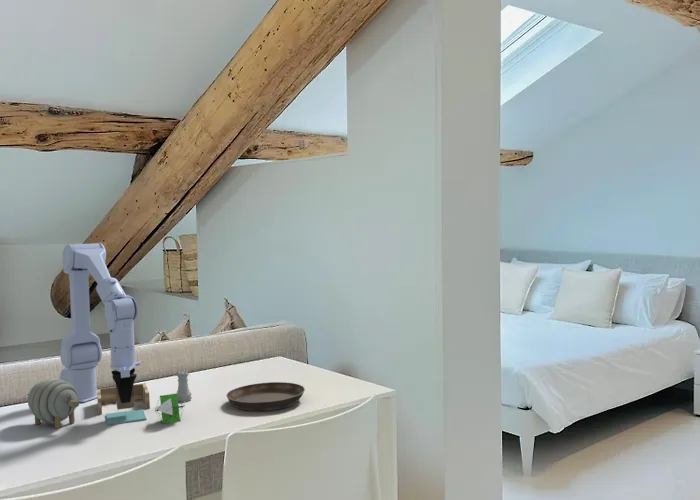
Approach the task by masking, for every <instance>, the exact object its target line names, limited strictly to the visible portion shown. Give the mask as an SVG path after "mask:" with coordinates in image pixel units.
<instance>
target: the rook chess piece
mask: <svg viewBox="0 0 700 500" xmlns="http://www.w3.org/2000/svg"><path fill="white" fill-rule="evenodd" d="M189 375H190V374H189V373H188V370H185V369H183V370H181V369H180V370H178V371H177V374H176V376H177V378H178V379H177V382H178V384H177V391H176V393H175V394H178V395H179V396H178V395H177V397H178V403H180V402H181V403H185V402H184V401H187V402H190V401H192V399H193V397H192V391H191V390H190V388H189V383H188V381H189V378H188V377H189ZM180 398H181V399H180ZM179 399H180V400H179ZM189 400H190V401H189Z"/></svg>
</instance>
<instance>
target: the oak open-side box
mask: <svg viewBox="0 0 700 500" xmlns="http://www.w3.org/2000/svg"><path fill="white" fill-rule="evenodd" d="M133 386H134V401H136V400H143V402H144V405H145V408H146V409H150V408H151V406H150V405H151V404H150V403H151V402H150V401H151V400H150V392H149V389H148V387H147V384H146V383H138V384H133ZM96 399H97V409H98V410H97V412H98V415H101V416H102V415H103V409H102V405H103V404H110V403H111V404H112V403H117V400H116V386H111V387H102V388H100V387H99V388H97V398H96Z"/></svg>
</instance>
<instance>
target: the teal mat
mask: <svg viewBox="0 0 700 500" xmlns="http://www.w3.org/2000/svg"><path fill="white" fill-rule="evenodd" d="M105 414H106V415H105V416H106V423H107V426H110V425H118V424H126V423H132V422H141V421H147V417H146V414H145V411H144V408H142V409H133V410H126V411H125V410H124V411H117V412H109V413H105Z"/></svg>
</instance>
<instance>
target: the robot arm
mask: <svg viewBox="0 0 700 500" xmlns="http://www.w3.org/2000/svg"><path fill="white" fill-rule="evenodd" d="M106 250H107V249H106V248H105V246H104V245H103V243H102V242H96V243H78V244H71V243H68V244H66V245H65V246H64V247H63V250H62V255H61V257H62V269H63V273H64V274H66V275H68V278H69V298H70V300H69V301H70V322H71V323H70V324H71V332H70V333H69V334H68V335H66V336H65V337H64V338H63V339H62V340H61V346H60V347H61V348H60V352H59V357H60V362H61V365H62V366H63V368H62V370H61V372H60V375H59V379H61V380H63V381H66V382H68V383H69V384H71V385H72V386H73V387H74V388H75V389H76V390H77V393H78V402H79V403H85V402H90V401H91V400H94V399H95V400H96V399H97V389H98V387H97V366H99V362H101V360H102V358H103V349H102V346H101V339H100V337H99V336H98V334H95V333H94V332H92V331H91V314H90V313H91V312H90V311H91V309H90V285H89V283H90V282H89V277H90V276H91V277H92V279H93V280H94V281H95V282H96V288H95V289H96V293H97V294H98V296H99V298H100V300H101V302H102V303H103V305H104V311H103V312H104V316H105V319H106V325H107V326H106V327H107V330H109V344H110V363H111V364H110V369H111V375H112V376H111V377H112V380H113V382H114V383H115V386H116V385H117V388H118V392H119V397H120V400H121V403H128V402H130V401H131V395H132V388H133V385H135V384H134V383H135V380H136V378H137V373H135V372H136V369H135V368H136V367H138V366H141V361H136V347H135V345H136V343H135V327H134V326H135V324H134V323H135V322H134V320H136V318H137V316H138V303H137V301H136V299H135V298H134V297H133V296H130V294H126V293H125V290H124V289H123V288H122V285H121V284H120V282H119V281H118V279H117V278H115V277H112V276H111V275H110V271H109V269H108V267H107V265H106V261H107V260H106V259H107V251H106Z"/></svg>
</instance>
